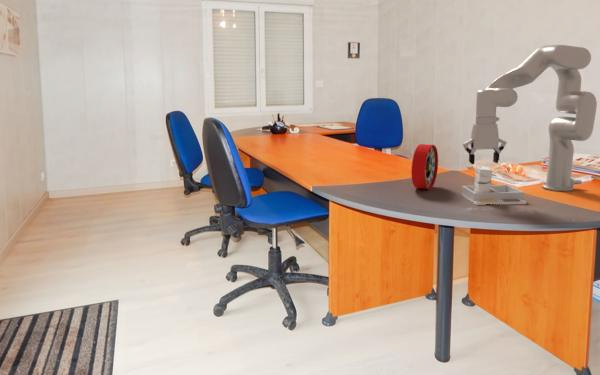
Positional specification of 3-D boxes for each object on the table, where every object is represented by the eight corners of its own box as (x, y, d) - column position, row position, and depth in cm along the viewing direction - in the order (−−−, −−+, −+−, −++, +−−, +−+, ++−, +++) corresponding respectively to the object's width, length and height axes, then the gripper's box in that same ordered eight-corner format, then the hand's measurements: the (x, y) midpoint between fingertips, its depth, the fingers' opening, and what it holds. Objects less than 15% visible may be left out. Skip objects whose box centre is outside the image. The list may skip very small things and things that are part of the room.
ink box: (490, 198, 200) (492, 169, 197) (477, 198, 201) (479, 169, 198) (485, 193, 208) (487, 165, 206) (473, 193, 209) (474, 165, 206)
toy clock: (423, 193, 215) (425, 147, 210) (410, 192, 218) (412, 147, 213) (437, 184, 231) (439, 142, 227) (424, 183, 234) (426, 141, 230)
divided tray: (507, 193, 212) (508, 184, 211) (526, 203, 195) (527, 194, 194) (461, 194, 211) (461, 185, 210) (476, 205, 195) (476, 195, 194)
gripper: (503, 119, 201) (500, 160, 205) (460, 120, 201) (459, 162, 205) (511, 120, 194) (508, 163, 198) (467, 122, 194) (466, 165, 198)
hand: (483, 163), depth 202 cm, fingers open, 9 cm apart
